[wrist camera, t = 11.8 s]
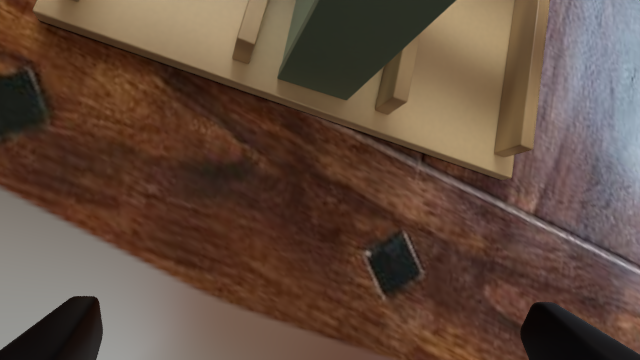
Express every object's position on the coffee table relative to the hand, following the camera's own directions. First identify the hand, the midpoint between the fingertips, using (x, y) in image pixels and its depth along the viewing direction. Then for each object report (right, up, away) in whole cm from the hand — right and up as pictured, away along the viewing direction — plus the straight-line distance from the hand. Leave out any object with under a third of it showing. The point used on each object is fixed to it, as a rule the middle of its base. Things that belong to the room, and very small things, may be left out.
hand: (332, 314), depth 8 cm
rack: (0, +12, +13) cm, 18 cm away
